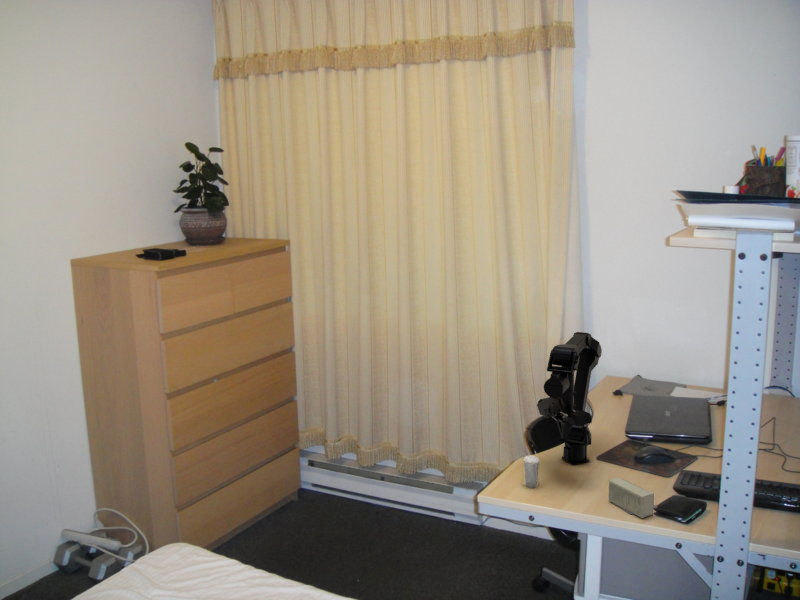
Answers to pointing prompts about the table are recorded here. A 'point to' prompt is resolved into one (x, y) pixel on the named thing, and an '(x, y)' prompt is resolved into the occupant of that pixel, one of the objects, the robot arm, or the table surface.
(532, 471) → the milkshake
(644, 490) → the skincare box
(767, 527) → the table surface
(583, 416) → the robot arm
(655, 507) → the felt pad
